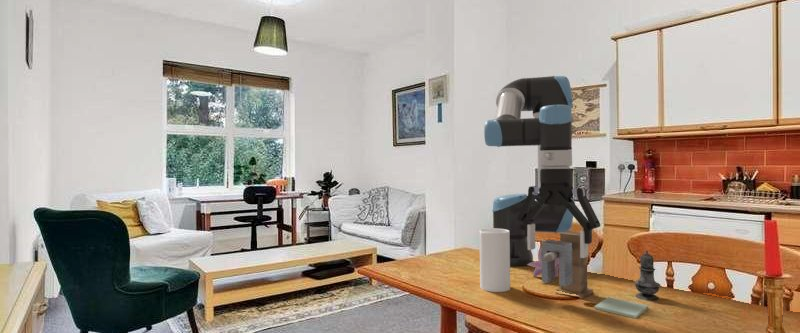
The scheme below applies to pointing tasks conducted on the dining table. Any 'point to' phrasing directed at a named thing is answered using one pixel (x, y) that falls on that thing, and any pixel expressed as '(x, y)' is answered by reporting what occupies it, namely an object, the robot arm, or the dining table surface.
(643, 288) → the salt shaker
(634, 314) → the mat
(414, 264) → the dining table surface
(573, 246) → the peg stand
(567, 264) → the grey slotted block
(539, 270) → the lily
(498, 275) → the cup
